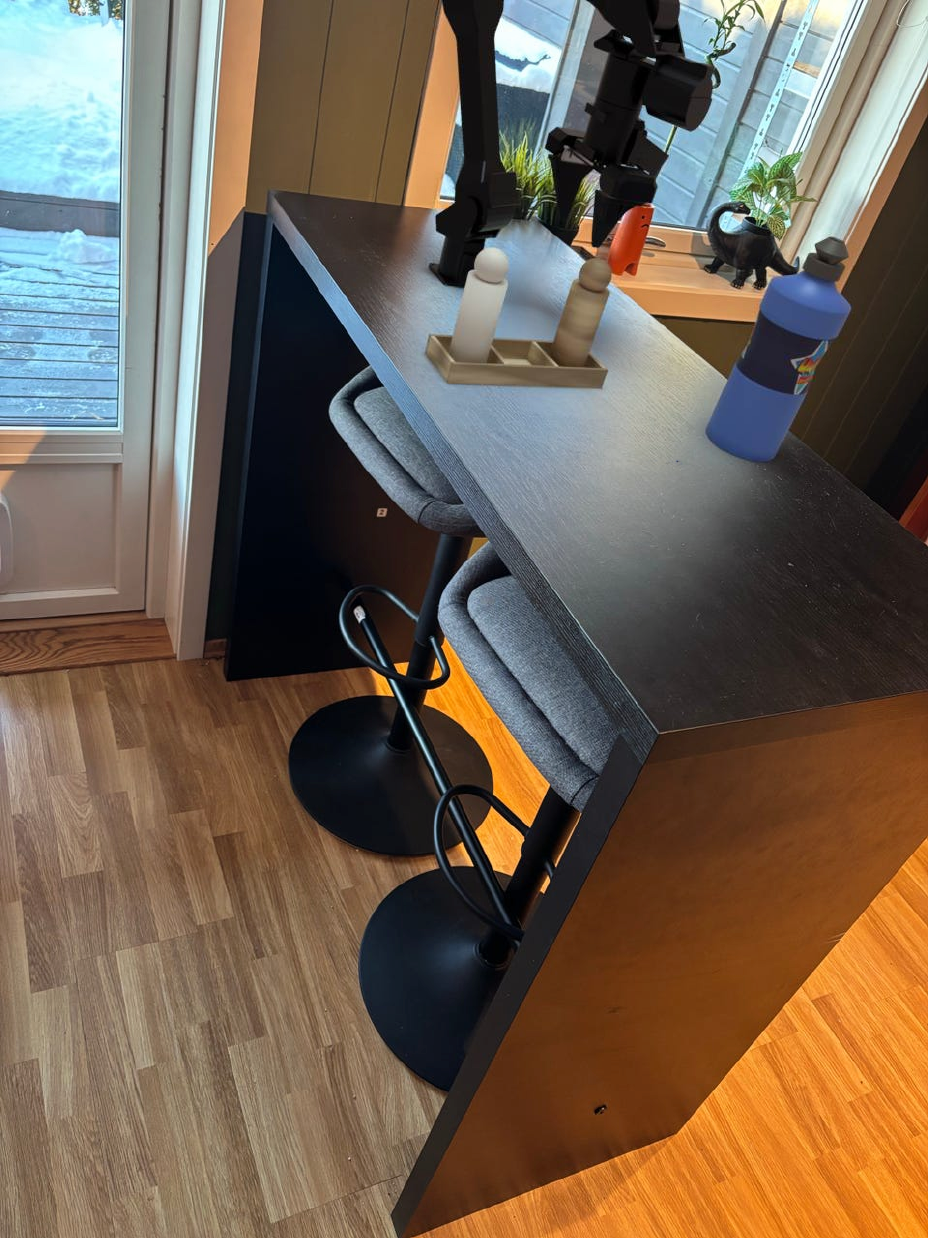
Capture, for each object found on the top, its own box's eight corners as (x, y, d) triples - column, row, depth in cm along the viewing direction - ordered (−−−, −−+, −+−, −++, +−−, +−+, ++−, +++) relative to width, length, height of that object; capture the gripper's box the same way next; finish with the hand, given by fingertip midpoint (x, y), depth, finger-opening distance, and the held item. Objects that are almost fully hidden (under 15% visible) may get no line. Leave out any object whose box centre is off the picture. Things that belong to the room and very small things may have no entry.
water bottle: (789, 453, 118) (892, 254, 103) (752, 469, 112) (856, 260, 97) (728, 417, 123) (819, 221, 107) (690, 430, 117) (780, 224, 101)
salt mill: (439, 358, 113) (468, 238, 104) (474, 360, 115) (505, 242, 106) (454, 377, 110) (486, 255, 101) (489, 378, 112) (523, 259, 103)
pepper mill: (541, 360, 120) (577, 248, 111) (576, 366, 121) (614, 256, 112) (548, 377, 116) (586, 262, 108) (583, 383, 118) (623, 270, 109)
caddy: (423, 359, 114) (429, 333, 112) (572, 365, 123) (580, 342, 121) (446, 389, 109) (453, 363, 107) (599, 393, 118) (608, 370, 116)
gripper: (714, 136, 112) (665, 267, 121) (633, 91, 124) (595, 213, 133) (637, 122, 107) (592, 259, 116) (561, 76, 119) (527, 204, 129)
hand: (578, 233), depth 124 cm, fingers open, 9 cm apart
